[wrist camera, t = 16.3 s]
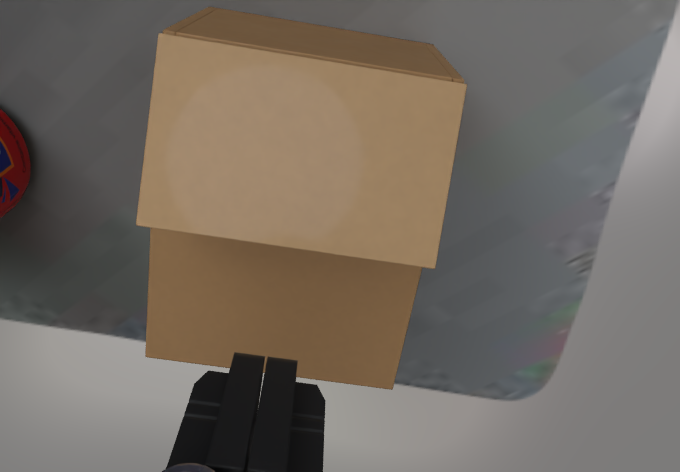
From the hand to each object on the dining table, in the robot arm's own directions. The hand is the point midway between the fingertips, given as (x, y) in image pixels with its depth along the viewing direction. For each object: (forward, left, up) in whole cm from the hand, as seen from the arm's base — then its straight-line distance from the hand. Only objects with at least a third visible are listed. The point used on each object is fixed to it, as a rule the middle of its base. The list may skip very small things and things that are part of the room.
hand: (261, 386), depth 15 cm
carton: (0, -2, -23) cm, 23 cm away
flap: (0, +2, -12) cm, 12 cm away
